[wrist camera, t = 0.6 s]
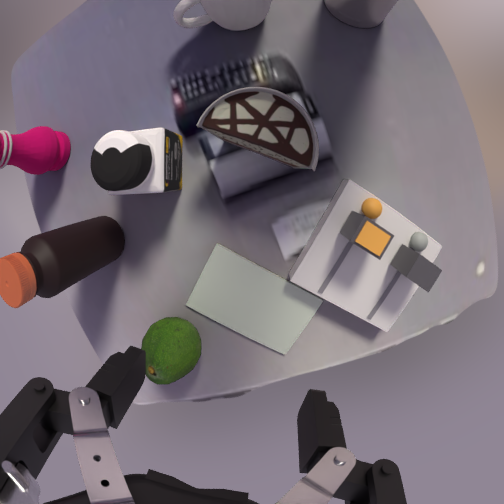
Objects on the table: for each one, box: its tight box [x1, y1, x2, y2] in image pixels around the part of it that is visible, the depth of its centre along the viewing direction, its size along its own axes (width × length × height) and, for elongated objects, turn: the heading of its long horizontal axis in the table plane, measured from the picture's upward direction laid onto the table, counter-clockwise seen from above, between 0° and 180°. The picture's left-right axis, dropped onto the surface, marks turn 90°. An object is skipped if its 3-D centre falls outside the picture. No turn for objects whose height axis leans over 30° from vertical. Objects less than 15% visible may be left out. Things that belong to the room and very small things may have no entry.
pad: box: [186, 243, 323, 355], centre depth 39 cm, size 10×16×1 cm, turn 61°
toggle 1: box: [339, 211, 394, 260], centre depth 30 cm, size 3×4×5 cm
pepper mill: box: [0, 126, 71, 175], centre depth 26 cm, size 7×7×20 cm
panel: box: [289, 179, 442, 332], centre depth 35 cm, size 14×16×4 cm
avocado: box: [141, 317, 201, 384], centre depth 35 cm, size 8×8×12 cm
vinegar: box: [0, 216, 125, 308], centre depth 29 cm, size 7×7×20 cm
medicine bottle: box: [91, 128, 182, 195], centre depth 30 cm, size 7×7×12 cm
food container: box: [197, 87, 319, 171], centre depth 29 cm, size 12×6×10 cm, turn 68°
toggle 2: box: [390, 244, 442, 292], centre depth 31 cm, size 3×4×5 cm
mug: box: [173, 0, 272, 31], centre depth 25 cm, size 13×9×10 cm
